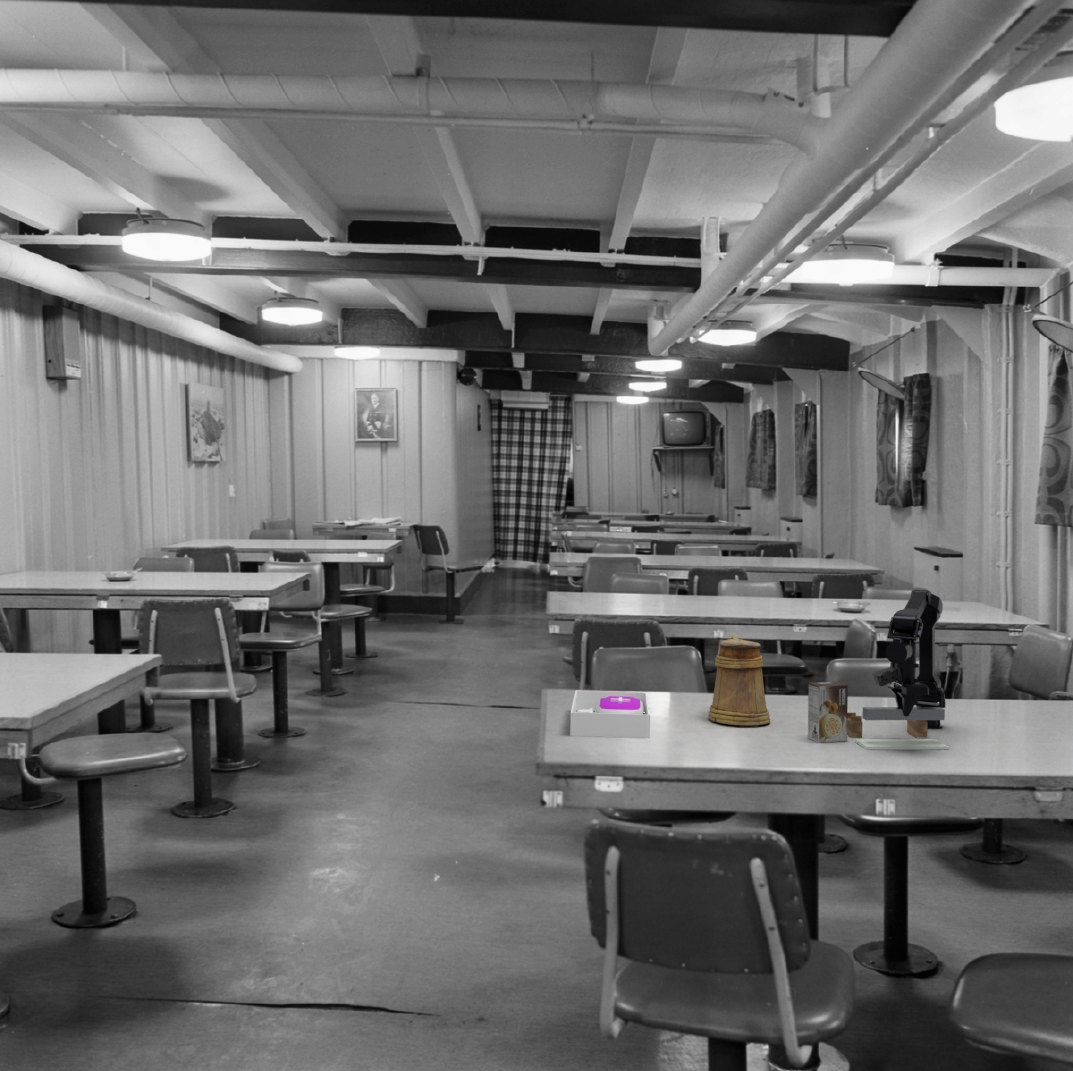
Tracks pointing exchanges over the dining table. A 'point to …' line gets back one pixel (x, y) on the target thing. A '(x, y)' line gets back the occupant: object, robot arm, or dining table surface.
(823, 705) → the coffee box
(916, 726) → the post
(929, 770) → the dining table surface
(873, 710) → the rail
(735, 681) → the tankard
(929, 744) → the pad
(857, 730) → the post
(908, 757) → the dining table surface
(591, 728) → the light grey open box
